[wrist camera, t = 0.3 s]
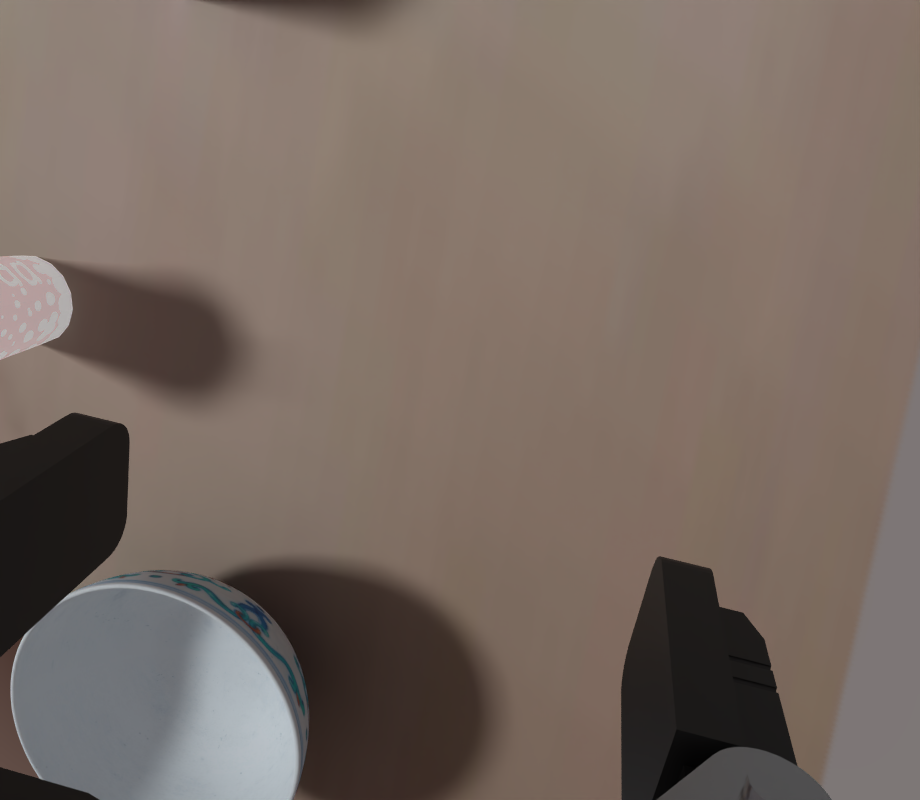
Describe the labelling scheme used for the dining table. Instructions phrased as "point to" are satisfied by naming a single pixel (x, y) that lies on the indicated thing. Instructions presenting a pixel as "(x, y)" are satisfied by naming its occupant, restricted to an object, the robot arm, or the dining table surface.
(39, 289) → the beverage cup
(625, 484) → the dining table surface
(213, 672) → the chinaware
